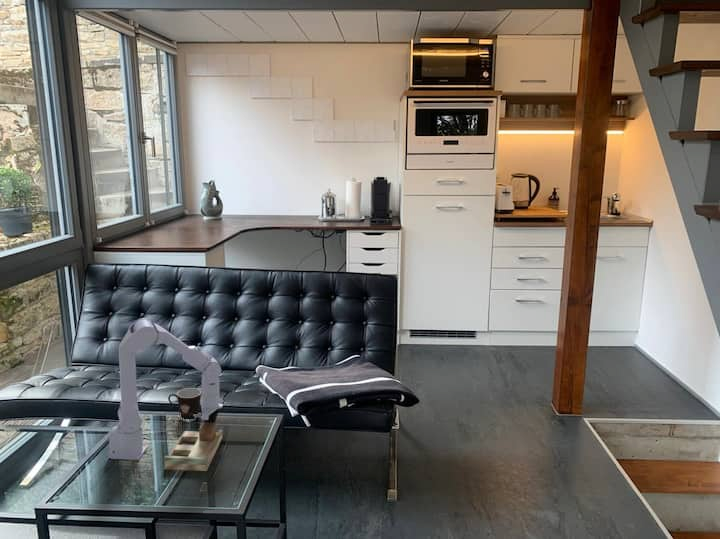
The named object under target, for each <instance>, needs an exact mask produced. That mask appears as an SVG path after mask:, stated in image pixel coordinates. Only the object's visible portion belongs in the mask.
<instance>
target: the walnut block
mask: <svg viewBox="0 0 720 539" xmlns="http://www.w3.org/2000/svg"><path fill="white" fill-rule="evenodd" d="M198 432H199V441H213V440H214V438H215V436H216V432H217V422H216V423H215V422H205V421H203V422H202V423H201V424H200V426H199V428H198Z"/></svg>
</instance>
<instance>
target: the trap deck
mask: <svg viewBox="0 0 720 539" xmlns="http://www.w3.org/2000/svg"><path fill="white" fill-rule="evenodd" d="M222 440H223V429H219V430H218V431H216V436H215V438H214V440H213V441H199V431H192V430H191V431H190V430H189V431H188V430H184V431H183V432H182V434H181V436H180V437H179V438H178V441H177V442H176V444H175V445H174V447H173V449H172V450H171V452H170V453H169V455H165V456H163V467H164V470H177V471H178V470H179V471H197V472H198V471H200V472H201V471H202V472H207V471H208V469H209V467H210V464H211V463H212V461H213V458H214V457H215V454H216V452H217V450H218V448H219V446H220V444H221V442H222Z"/></svg>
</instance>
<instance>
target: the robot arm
mask: <svg viewBox="0 0 720 539" xmlns="http://www.w3.org/2000/svg"><path fill="white" fill-rule="evenodd" d="M153 344H155V345H156V346H158V345H161V344H163V345H165V346H167V347H169V348H171V349H172V350H174V351H175V352H177V353H179V354H180V355H182V361H183V362H185V363H187V364H188V365H189V366H191V367H193V368H194V369H195V370H198V371H201V404H200V407H201V408H200V409H201V412H200V416H201V421H203V422H215V423H216V424H217V422H216V421H217V417H218V415H219V413H220V410H221V409H222V408H223V406H224V405H223V403H220V377H219V376H220V375H221V373H222V368H221V366H220V365H221V364H220V363H218V361H217V359H216V358H214V356H213V355H211V354H208V353H205V352H204V350H203V351H202V347H201V346H199V345H197V346H196V345H187V344H186V343H184V342H183V341H182V340H180V339H178V337H176V336H175V335H174V334H172V333H171V332H170V331H169V330H166V329H165V328H164V327H162V326H160V325H159V324H158V323H155V322H152V321H151V320H150V319H148V318H146V317H145V318H144V317H143V318H139V319H137V320H136V321H134V322H133V323H131V324H130V325H129V327H128V330H127V332H126V333H125V335H124V336H123V338H122V339H121V342H120V343H119V345H118V359H119V360H118V362H119V363H118V364H119V383H120V384H119V385H120V404H119V408H118V411H117V416H118V419H119V424H118V426H117V425H116V426H113V427H112V428H111V430H110V433H109V436H108V437H109V438H108V444H109V446H108V447H109V448H108V449H109V456H108V459H109V458H111V459H110V460H131V461H139V460H140V458H141V457H142V456H143V454H144V453H145V452H146V450H147V448H148V445H143V444H144V442H143V441H144V440H143V419H142V417H141V414H140V410H139V405H138V390H137V363H136V355H137V353H138V352H140V351H141V350H142V349H145V348H147V347H149V346H151V345H153Z"/></svg>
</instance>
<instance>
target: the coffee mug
mask: <svg viewBox="0 0 720 539" xmlns="http://www.w3.org/2000/svg"><path fill="white" fill-rule="evenodd" d="M171 397H175V398H176V399H177V405H178V406H177V405H176V404H174V403H173V402H172V401H171ZM167 400H168V402H169V404H170V405H172V407H174V408H175V409H176V410H178V411H179V414H180V413H181V417H182V418H184V419H189V420H190V419H194V418H195V417H194V416H193V414H198V413H199V414H200V409H201V408H200V407H201V401H202V389H199V388H197V387H186V388H185V387H184V388H182V389H180V390H178V391H177V392H176V394H175V393H172V394H169V395H168V398H167Z"/></svg>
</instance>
